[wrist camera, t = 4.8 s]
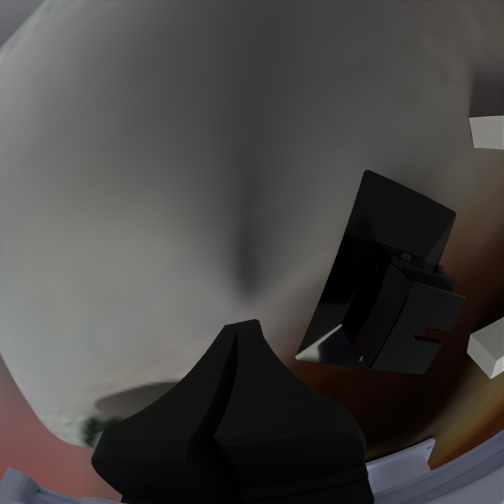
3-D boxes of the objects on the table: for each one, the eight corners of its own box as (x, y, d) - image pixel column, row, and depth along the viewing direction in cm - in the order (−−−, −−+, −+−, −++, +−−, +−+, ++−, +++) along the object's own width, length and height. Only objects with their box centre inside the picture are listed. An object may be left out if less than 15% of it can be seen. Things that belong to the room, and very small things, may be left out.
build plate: (377, 384, 16) (403, 439, 11) (264, 368, 15) (268, 437, 11) (468, 188, 12) (531, 207, 7) (349, 129, 11) (400, 119, 7)
